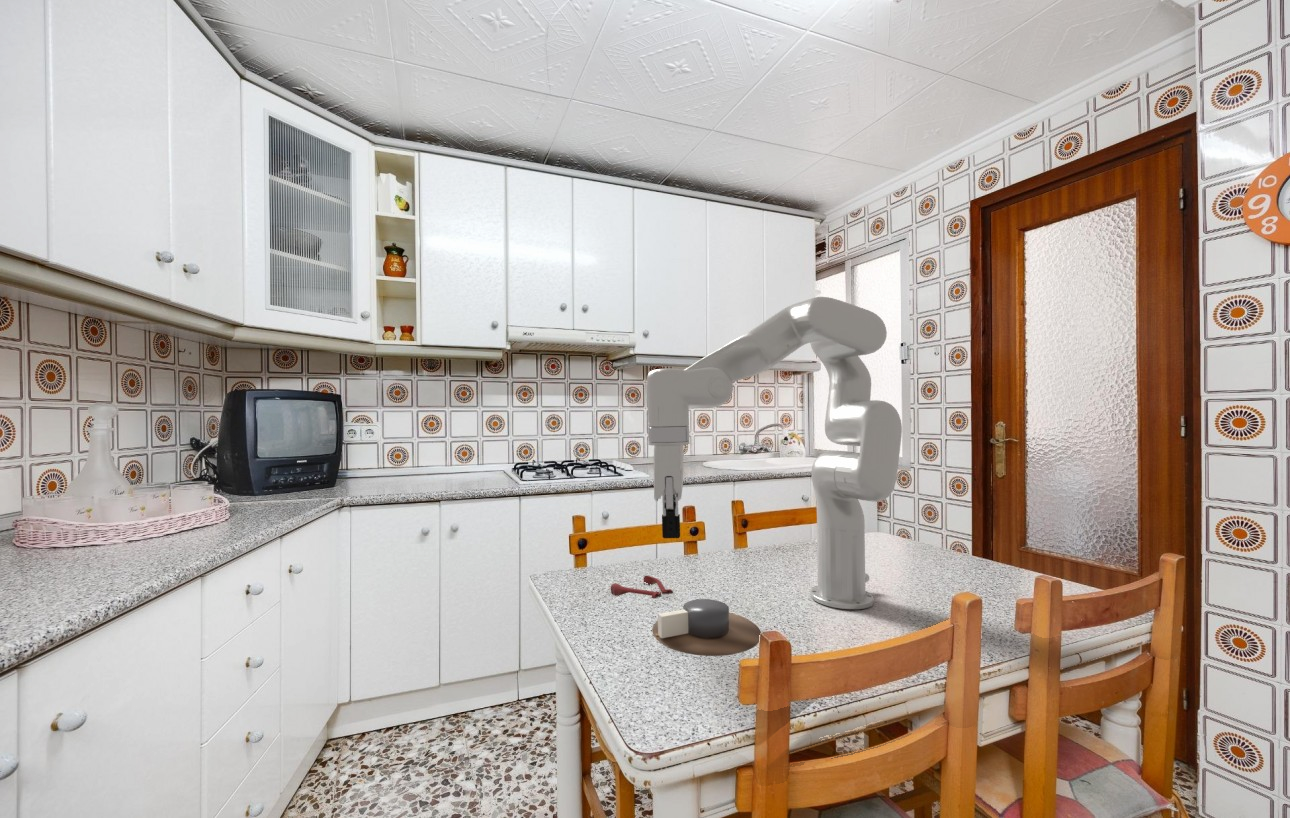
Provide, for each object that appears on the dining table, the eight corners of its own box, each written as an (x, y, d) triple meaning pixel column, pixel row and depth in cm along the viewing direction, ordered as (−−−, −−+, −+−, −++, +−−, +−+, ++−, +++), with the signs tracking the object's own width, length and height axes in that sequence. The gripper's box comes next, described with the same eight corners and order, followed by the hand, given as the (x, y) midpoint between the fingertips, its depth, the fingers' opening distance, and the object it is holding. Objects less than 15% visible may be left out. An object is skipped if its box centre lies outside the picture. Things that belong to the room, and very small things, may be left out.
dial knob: (714, 616, 93) (713, 596, 93) (738, 632, 86) (737, 611, 86) (650, 627, 88) (650, 607, 88) (670, 646, 81) (670, 624, 81)
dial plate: (699, 609, 101) (699, 601, 101) (782, 639, 87) (782, 629, 87) (630, 638, 88) (630, 628, 88) (715, 678, 74) (714, 666, 74)
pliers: (665, 622, 96) (665, 609, 96) (608, 594, 112) (608, 582, 112) (708, 609, 103) (708, 596, 103) (648, 584, 119) (648, 573, 119)
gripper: (650, 435, 99) (653, 528, 98) (645, 439, 84) (648, 548, 84) (688, 434, 98) (691, 527, 98) (689, 438, 83) (692, 548, 83)
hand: (671, 536), depth 91 cm, fingers closed
